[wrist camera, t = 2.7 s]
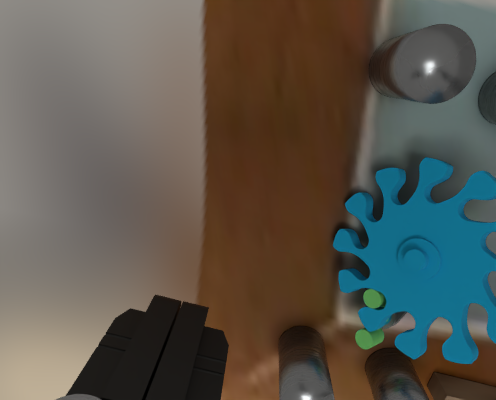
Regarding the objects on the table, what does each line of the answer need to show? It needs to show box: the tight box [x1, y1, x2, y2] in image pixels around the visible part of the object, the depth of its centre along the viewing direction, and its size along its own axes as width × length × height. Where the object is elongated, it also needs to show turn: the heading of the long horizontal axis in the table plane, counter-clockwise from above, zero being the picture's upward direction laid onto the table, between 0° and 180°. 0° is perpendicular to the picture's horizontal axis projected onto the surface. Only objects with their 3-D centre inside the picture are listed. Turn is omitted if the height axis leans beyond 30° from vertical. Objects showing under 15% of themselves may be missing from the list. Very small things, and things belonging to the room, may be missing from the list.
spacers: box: [278, 24, 496, 400], centre depth 21 cm, size 9×21×5 cm, turn 166°
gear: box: [333, 157, 496, 364], centre depth 21 cm, size 11×6×10 cm
